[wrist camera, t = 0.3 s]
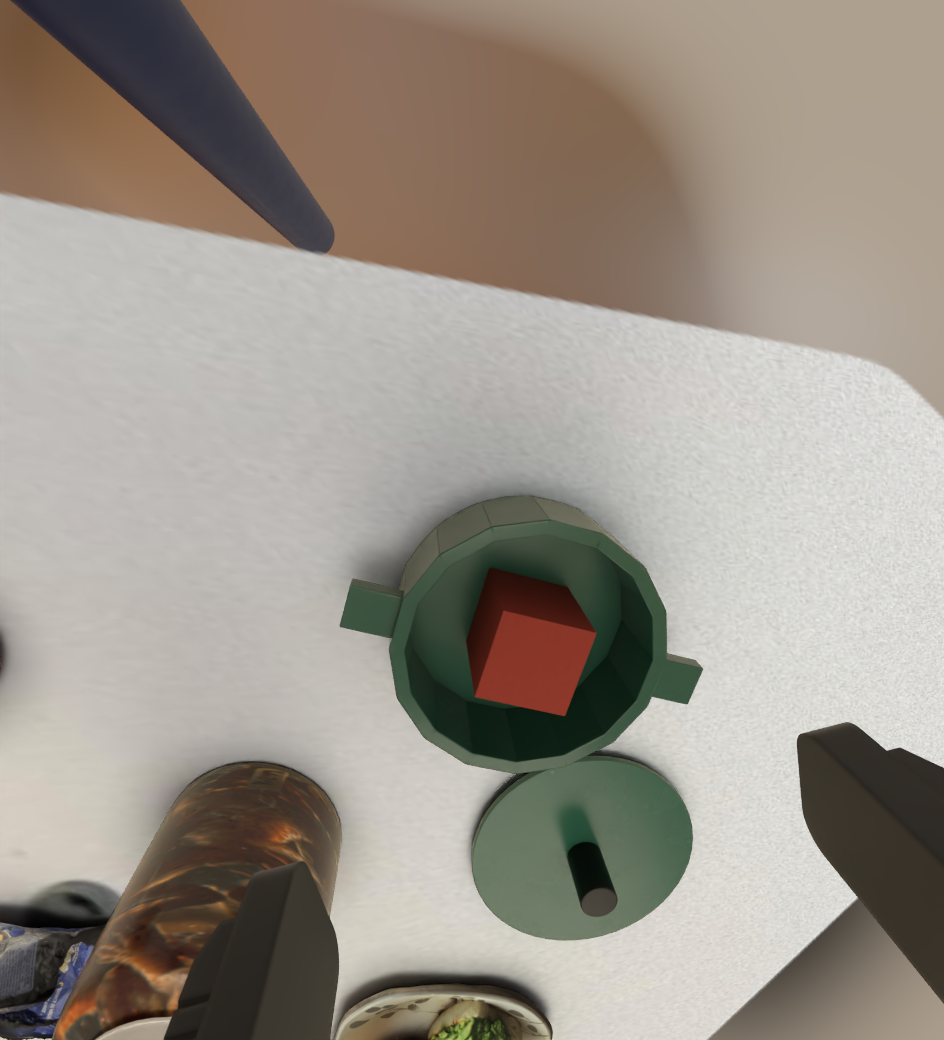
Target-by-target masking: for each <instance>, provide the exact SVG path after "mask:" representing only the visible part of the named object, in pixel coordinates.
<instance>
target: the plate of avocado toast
mask: <svg viewBox="0 0 944 1040" xmlns="http://www.w3.org/2000/svg"><path fill="white" fill-rule="evenodd" d="M552 1034H553V1031H552V1026H551V1024H550V1022H549V1021H548V1019H547V1018H546V1017H545V1015H544V1014H543V1013H542V1011H541V1010H540V1009H539V1008H538V1007H537V1006H536V1005H535V1004H534V1003H533V1002H531V1001H530V1000H529V999H528V998H526V997H525V996H523V995H521V994H519V993H517V992H515V991H512V990H509V989H505V988H501V987H495V986H489V985H467V984H462V983H451V984H433V985H421V986H415V987H402V988H391V989H386V990H383V991H381V992H379V993H377V994H375V995H373V996H371V997H369V998H367V999H365V1000H363V1001H361V1002H360V1003H358V1004H357V1005H355V1006H354V1007H352V1008H351V1009H349V1010H348V1011H347V1012H346V1013H345V1015H344V1016H343V1018H342V1020H341V1021H340V1023H339V1027H338V1030H337V1033H336V1035H335V1038H334V1040H552Z"/></svg>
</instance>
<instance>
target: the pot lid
mask: <svg viewBox="0 0 944 1040" xmlns="http://www.w3.org/2000/svg"><path fill="white" fill-rule="evenodd" d="M692 841H693V834H692V824H691V820H690V816H689V813H688V811H687V809H686V806H685V804H684V802H683V801H682V799H681V797H680V796H679V794H678V793H677V791H676V790H675V789H674V788H673V787H672V785H671V784H670V783H669V782H668V781H667V780H665V779H664V778H663V777H662V776H660V775H659V774H658V773H656V772H655V771H653V770H651V769H649V768H648V767H646V766H643V765H641V764H639V763H636V762H634V761H630V760H626V759H623V758H617V757H610V756H586V757H584V758H582V759H580V760H578V761H576V762H574V763H572V764H570V765H568V766H567V765H566V767H560V768H553V769H546V770H539V771H533V772H530V773H529V774H527V775H525V776H523V777H522V778H520V779H519V780H517V781H516V782H515V783H513V784H512V785H511V786H509V787H508V788H507V789H506V790H505V791H504V792H503V793H502V794H501V795H499V796H498V797H497V799H496V800H495V801H494V802H493V803H492V805H491V806H490V807H489V808H488V810H487V812H486V813H485V815H484V816H483V818H482V820H481V822H480V824H479V826H478V829H477V831H476V834H475V838H474V841H473V846H472V855H471V857H472V872H473V877H474V881H475V885H476V887H477V890H478V892H479V894H480V896H481V898H482V899H483V901H484V903H485V904H486V905H487V907H488V908H489V909H490V910H491V911H492V912H493V913H494V914H495V915H496V916H497V917H498V918H499V919H501V920H502V921H503V922H505V923H506V924H508V925H509V926H511V927H513V928H515V929H517V930H519V931H521V932H523V933H526V934H529V935H532V936H535V937H540V938H545V939H552V940H581V939H589V938H594V937H599V936H603V935H606V934H609V933H613V932H616V931H618V930H620V929H623V928H625V927H627V926H629V925H631V924H633V923H635V922H637V921H638V920H640V919H642V918H643V917H645V916H646V915H648V914H649V913H651V912H652V911H653V910H654V909H655V908H657V907H658V906H659V905H660V904H661V903H662V902H663V901H664V900H665V899H666V898H667V897H668V896H669V895H670V894H671V892H672V891H673V890H674V888H675V887H676V886H677V884H678V883H679V881H680V879H681V878H682V876H683V874H684V872H685V870H686V867H687V865H688V862H689V859H690V855H691V851H692Z"/></svg>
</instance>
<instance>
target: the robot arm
mask: <svg viewBox="0 0 944 1040" xmlns="http://www.w3.org/2000/svg"><path fill="white" fill-rule="evenodd" d="M797 752H798V764H799V776H800V787H801V799H802V809H803V814H804V818H805V821H806V824H807V827H808V829H809V831H810V833H811V835H812V837H813V839H814V841H815V843H816V844H817V846H818V848H819V849H820V851H821V852H822V853H823V855H824V856H825V857H826V859H827V860H828V861H829V862H830V863H831V865H832V866H833V867H834V868H835V870H836V871H837V872H838V873H839V875H840V876H841V877H842V878H843V880H844V881H845V882H846V883H847V884H848V886H849V887H850V888H851V889H852V891H853V892H854V893H855V894H856V896H857V897H858V898H859V899H860V900H861V902H862V903H863V904H864V906H865V907H866V908H867V909H868V910H869V912H870V913H871V914H872V915H873V917H874V918H875V919H876V920H877V922H878V923H879V924H880V925H881V927H882V928H883V929H884V930H885V931H886V933H887V934H888V935H889V936H890V938H891V939H892V940H893V941H894V943H895V944H896V945H897V946H898V948H899V949H900V950H901V951H902V952H903V954H904V955H905V956H906V957H907V959H908V960H909V961H910V962H911V963H912V965H913V966H914V967H915V968H916V970H917V971H918V972H919V974H920V975H921V976H922V977H923V978H924V980H925V981H926V982H927V983H928V985H929V986H930V987H931V988H932V990H933V991H934V992H935V993H936V995H937V996H938V997H939V998H940V1000H941V1001H942V1002H943V1003H944V768H943V767H940V766H938V765H936V764H934V763H932V762H930V761H928V760H925V759H923V758H921V757H919V756H917V755H915V754H913V753H910V752H908V751H906V750H904V749H902V748H896V749H892V750H888V751H886V750H885V749H884V748H883V747H882V746H880V745H879V744H878V743H877V742H876V741H874V740H873V739H872V738H871V737H870V736H868V735H867V734H866V733H865V732H864V731H863V730H861V729H860V728H859V727H857V726H856V725H854V724H852V723H849V722H845V723H841V724H837V725H834V726H830V727H826V728H822V729H818V730H814V731H810V732H806V733H803V734H800V735H799V736H798V739H797ZM338 975H339V953H338V944H337V938H336V934H335V930H334V928H333V925H332V923H331V920H330V918H329V915H328V913H327V910H326V908H325V905H324V903H323V900H322V898H321V896H320V893H319V891H318V888H317V886H316V883H315V881H314V878H313V876H312V873H311V871H310V869H309V867H308V865H307V864H306V863H305V862H304V861H299V862H295V863H291V864H288V865H284V866H280V867H276V868H272V869H268V870H264V871H260V872H257V873H255V874H253V876H252V877H251V878H250V880H249V882H248V885H247V887H246V890H245V893H244V896H243V899H242V902H241V905H240V908H239V911H238V914H237V917H235V918H231V919H228V920H224V921H221V922H220V923H219V924H218V926H217V927H216V929H215V930H214V932H213V933H212V934H211V936H210V937H209V939H208V940H207V942H206V943H205V944H204V946H203V947H202V949H201V950H200V952H199V953H198V954H197V956H196V957H195V959H194V960H193V963H192V966H191V968H190V971H189V973H188V976H187V979H186V981H185V984H184V986H183V989H182V992H181V994H180V997H179V999H178V1009H177V1010H174V1012H173V1015H172V1018H171V1020H170V1023H169V1025H168V1028H167V1031H166V1033H165V1036H164V1040H330V1034H331V1027H332V1020H333V1013H334V1005H335V998H336V991H337V984H338Z"/></svg>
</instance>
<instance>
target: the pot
mask: <svg viewBox="0 0 944 1040" xmlns="http://www.w3.org/2000/svg"><path fill="white" fill-rule="evenodd" d="M489 568H494V569H498V570H502V571H506V572H510V573H514V574H518V575H522V576H526V577H530V578H534V579H538V580H542V581H546V582H550V583H554V584H558V585H562V586H566V587H568V588H569V590H570V591H571V593H572V595H573V596H574V598H575V599H576V601H577V602H578V604H579V606H580V607H581V609H582V610H583V612H584V613H585V615H586V617H587V618H588V620H589V621H590V623H591V625H592V626H593V628H594V629H595V631H596V632H597V634H596V637H595V639H594V642H593V644H592V647H591V650H590V652H589V655H588V657H587V660H586V663H585V665H584V668H583V670H582V673H581V676H580V678H579V681H578V683H577V686H576V689H575V691H574V694H573V697H572V699H571V702H570V704H569V707H568V710H567V712H566V715H565V716H562V715H557V714H552V713H548V712H543V711H538V710H534V709H529V708H524V707H519V706H515V705H510V704H505V703H501V702H496V701H491V700H486V699H482V698H477V697H475V695H474V689H473V683H472V676H471V670H470V663H469V657H468V651H467V644H466V639H467V636H468V633H469V630H470V627H471V624H472V620H473V617H474V614H475V611H476V608H477V605H478V602H479V599H480V596H481V592H482V589H483V586H484V583H485V580H486V577H487V574H488V571H489ZM340 627H343V628H347V629H351V630H356V631H360V632H365V633H369V634H374V635H378V636H383V637H387V638H390V644H389V653H390V659H391V665H392V671H393V678H394V684H395V690H396V696H397V699H398V701H399V702H400V703H401V705H402V706H403V708H404V709H405V711H406V712H407V714H408V715H409V717H410V718H411V719H412V721H413V722H414V724H415V725H416V727H417V728H418V730H419V731H420V733H421V734H422V736H423V737H424V738H425V739H426V740H428V741H430V742H431V743H433V744H434V745H436V746H438V747H439V748H441V749H442V750H444V751H446V752H447V753H449V754H450V755H452V756H454V757H455V758H457V759H458V760H460V761H462V762H463V763H465V764H467V765H472V766H477V767H482V768H488V769H493V770H498V771H503V772H508V773H514V774H515V773H516V774H519V773H526V772H533V771H539V770H546V769H553V768H560V767H566V765H567V766H568V765H570V764H572V763H574V762H576V761H578V760H580V759H582V758H584V757H586V756H588V755H589V754H591V753H593V752H595V751H597V750H599V749H601V748H603V747H605V746H607V745H609V744H611V743H613V742H614V741H615V740H616V739H617V738H618V737H619V736H620V735H621V734H622V733H623V732H624V731H625V729H626V728H627V727H628V726H629V725H630V724H631V723H632V722H633V721H634V720H635V719H636V718H637V717H638V716H639V715H640V714H641V713H642V712H643V711H644V710H645V709H646V708H647V706H648V704H649V702H650V699H651V697H656V698H660V699H665V700H669V701H674V702H678V703H683V704H688V702H689V700H690V698H691V695H692V693H693V691H694V689H695V686H696V684H697V682H698V680H699V677H700V675H701V673H702V671H703V668H702V667H701V666H700V665H699V664H698V662H697V661H696V660H693V659H689V658H684V657H680V656H676V655H672V654H668V653H667V628H666V609H665V607H664V605H663V603H662V601H661V599H660V597H659V595H658V593H657V591H656V589H655V587H654V584H653V582H652V580H651V578H650V576H649V574H648V572H647V570H646V568H645V567H644V565H643V564H641V563H640V562H639V561H638V560H637V559H636V558H635V557H634V556H633V555H632V554H631V553H630V552H629V551H628V550H627V549H626V548H625V547H623V546H622V545H621V544H620V543H619V542H618V541H617V540H616V539H615V538H614V537H613V536H612V535H610V534H609V533H608V532H607V531H605V530H604V529H603V528H602V527H600V526H599V525H598V524H597V523H596V522H595V521H593V520H592V519H591V518H589V517H588V516H587V515H586V514H584V513H583V512H582V511H581V510H580V509H578V508H575V507H571V506H568V505H566V504H563V503H560V502H557V501H554V500H550V499H545V498H540V497H535V496H511V497H502V498H496V499H491V500H487V501H484V502H481V503H478V504H475V505H472V506H470V507H468V508H466V509H464V510H461V511H459V512H457V513H456V514H454V515H453V516H451V517H450V518H448V519H446V520H445V521H444V522H442V523H441V524H440V525H438V526H437V527H436V528H435V529H434V530H433V531H432V532H431V533H430V534H429V535H428V536H427V537H426V538H425V539H424V540H423V541H422V542H421V544H420V545H419V547H418V548H417V549H416V551H415V552H414V554H413V555H412V557H411V558H410V560H409V561H408V562H407V564H406V565H405V569H404V572H403V576H402V579H401V582H400V585H399V589H395V588H391V587H387V586H383V585H379V584H374V583H370V582H366V581H362V580H358V579H352V581H351V584H350V588H349V592H348V596H347V600H346V603H345V607H344V611H343V615H342V619H341V623H340Z"/></svg>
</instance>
